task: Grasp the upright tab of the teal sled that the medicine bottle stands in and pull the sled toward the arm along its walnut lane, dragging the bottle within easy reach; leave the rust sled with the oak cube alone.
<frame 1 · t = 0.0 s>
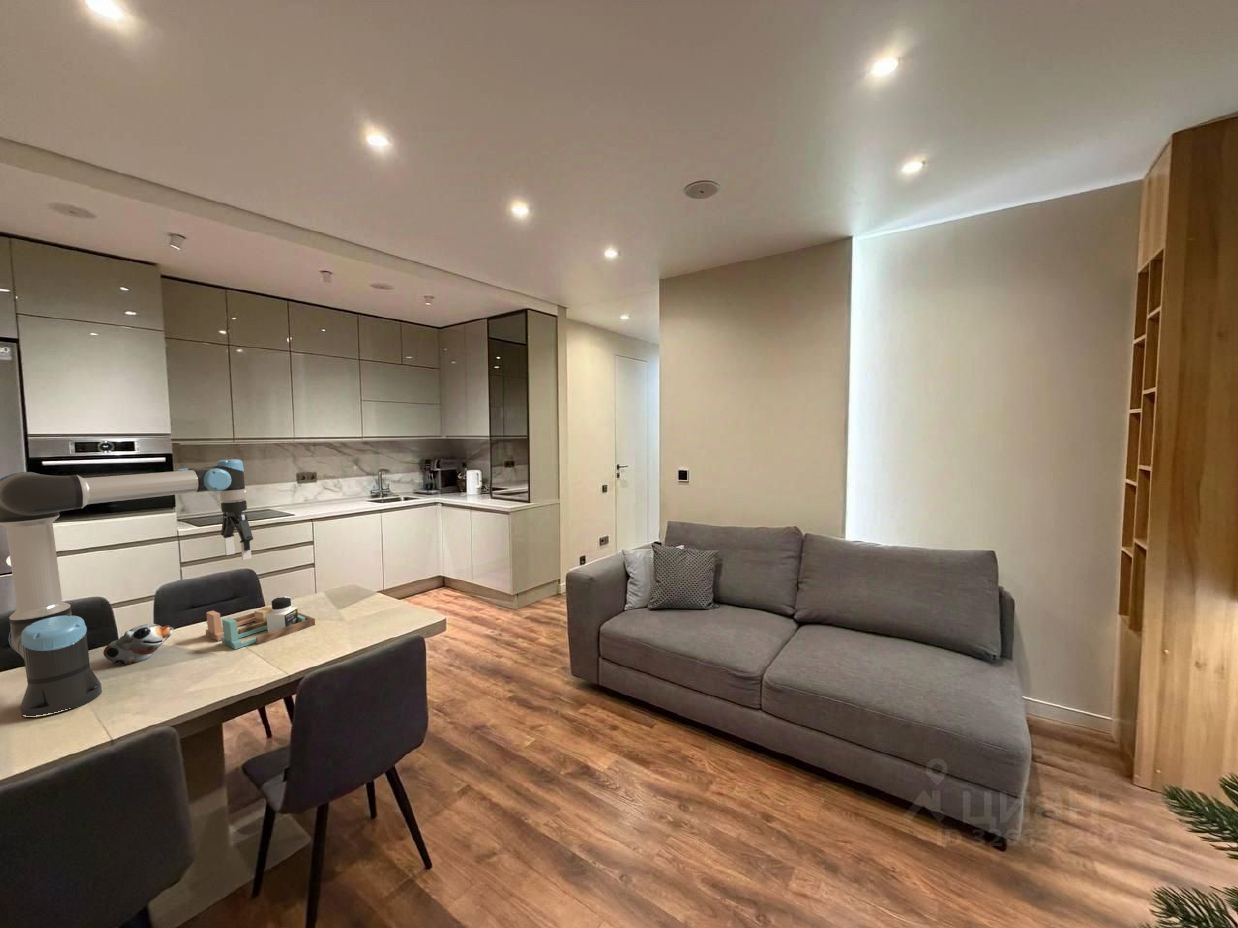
hand: (238, 556, 184), 28 cm above the table, fingers open, 13 cm apart
oak cube: (266, 621, 193), resting in sled b
lucky cat figurine: (141, 657, 165), on the table
medicine bottle: (283, 629, 186), resting in sled a
sled a: (264, 621, 181), point 5 cm above the table, slide at 0.0 cm, touching medicine bottle
sled b: (247, 614, 188), point 5 cm above the table, slide at 0.0 cm
lane rails: (276, 630, 184), on the table
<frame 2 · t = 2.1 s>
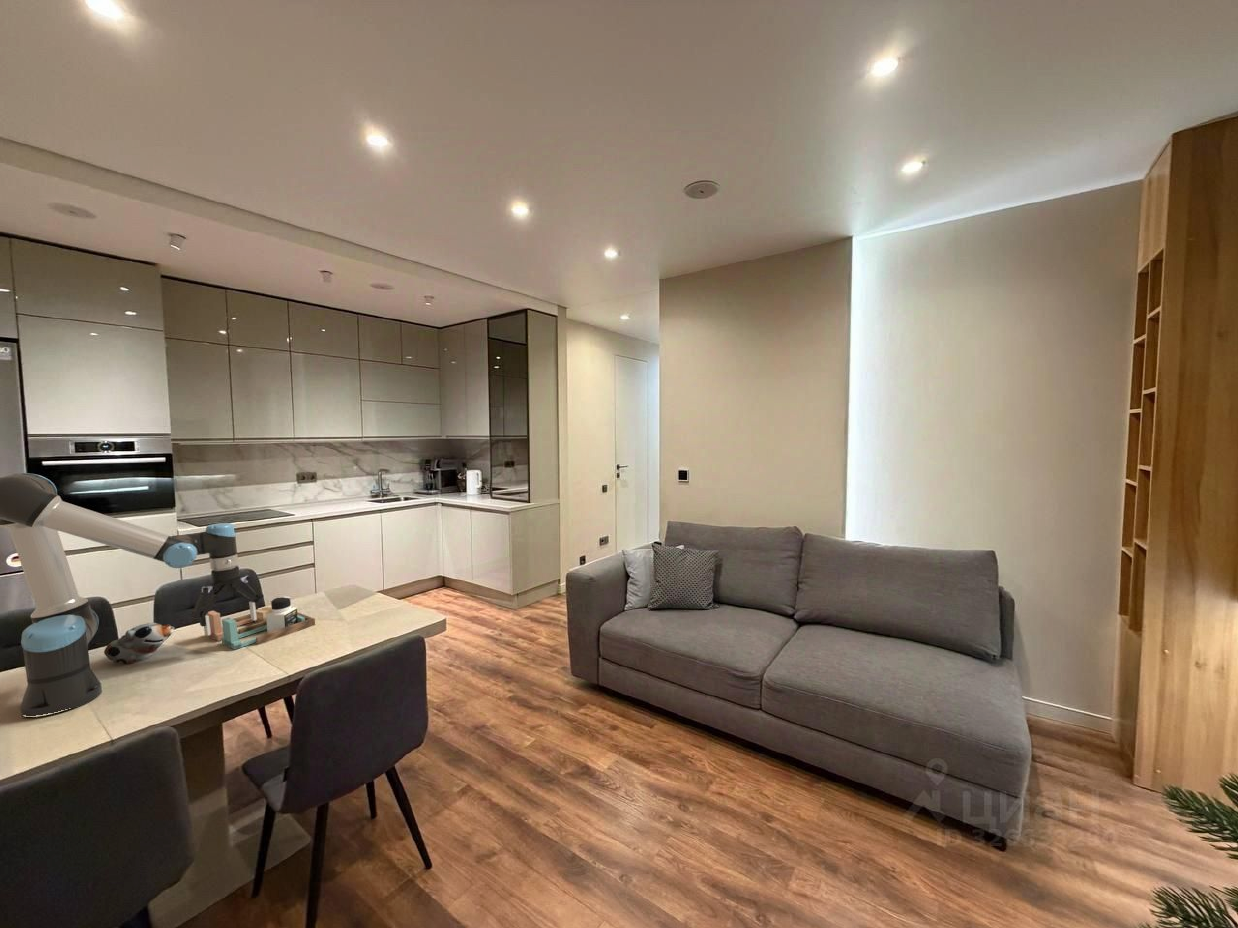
hand: (231, 626, 172), 7 cm above the table, fingers open, 13 cm apart
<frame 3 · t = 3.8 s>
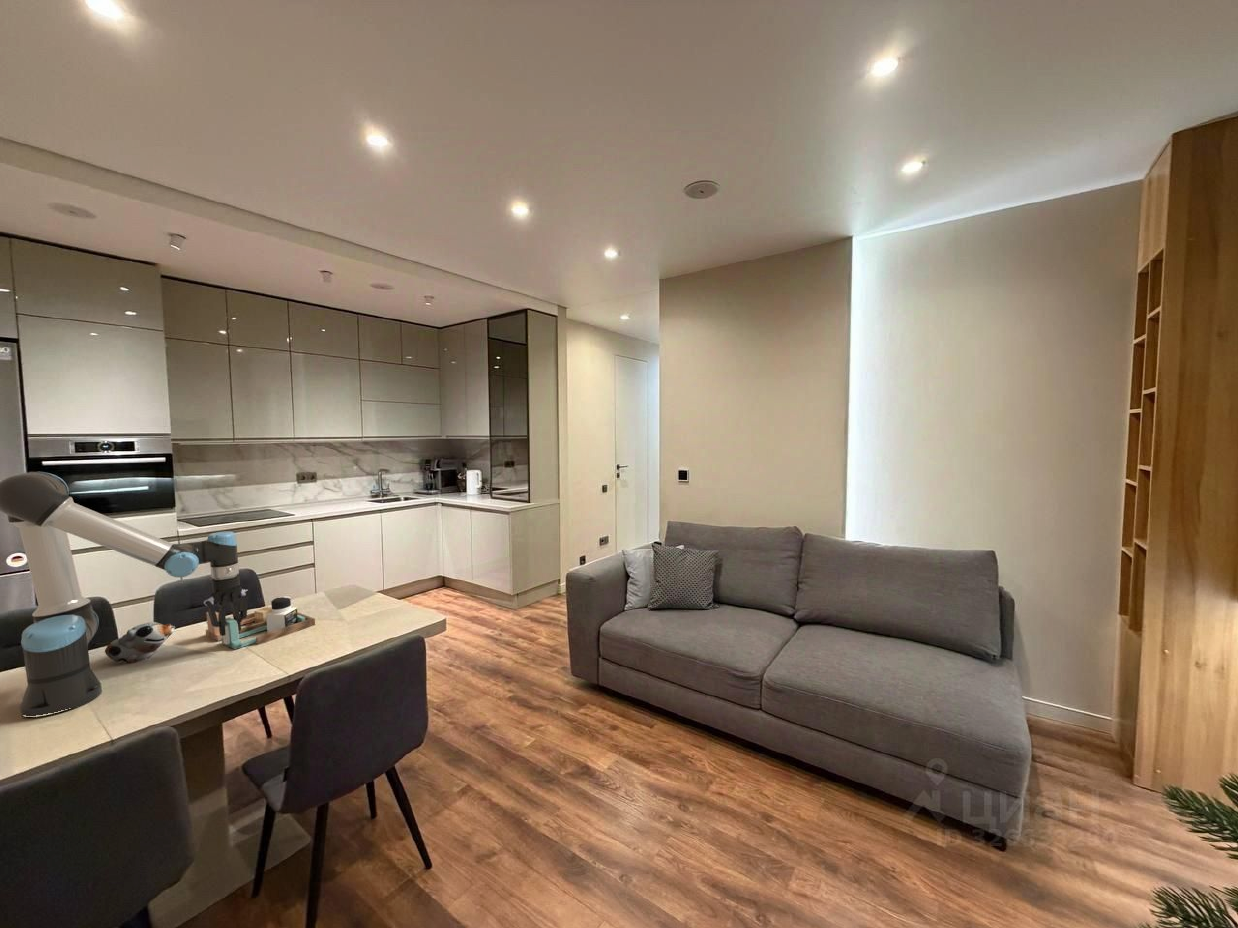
hand: (231, 641, 172), 1 cm above the table, fingers closed on sled a, 2 cm apart
sled a: (264, 621, 181), point 5 cm above the table, slide at 0.0 cm, touching gripper, medicine bottle
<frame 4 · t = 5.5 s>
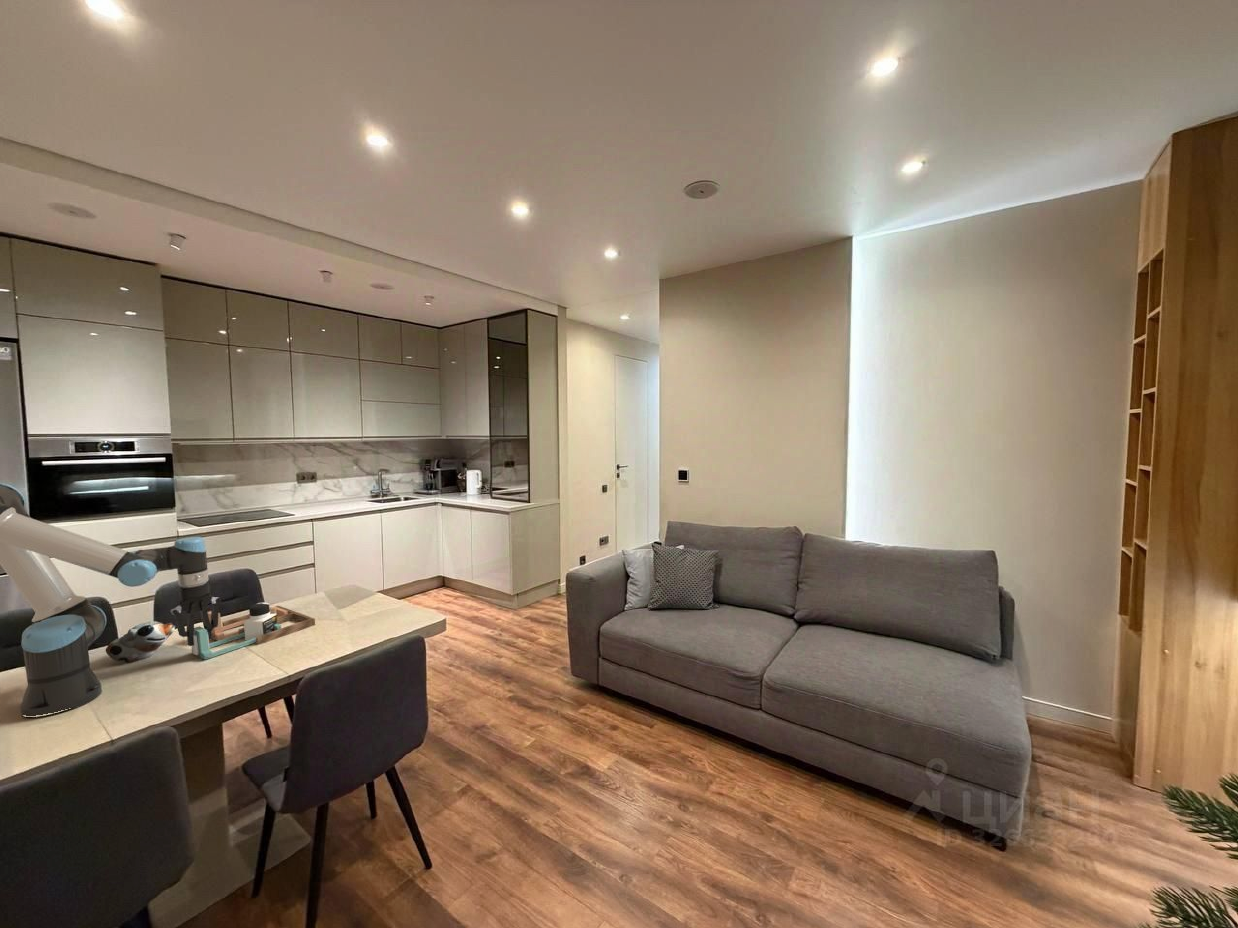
hand: (201, 651, 165), 1 cm above the table, fingers closed on sled a, 2 cm apart
medicine bottle: (261, 636, 180), resting in sled a
sled a: (237, 630, 173), point 5 cm above the table, slide at 8.5 cm, touching gripper, medicine bottle
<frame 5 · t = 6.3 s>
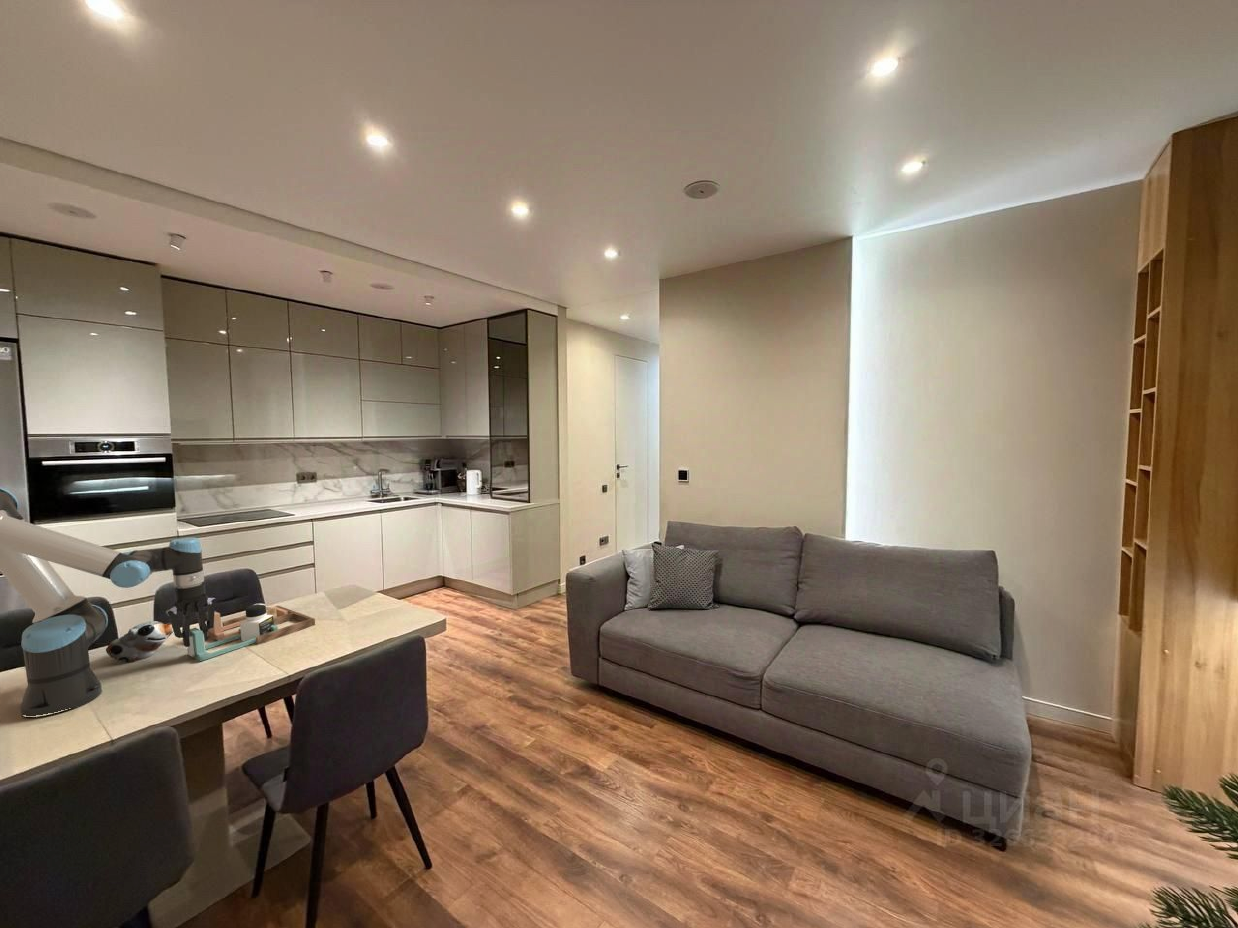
hand: (197, 652, 164), 2 cm above the table, fingers open, 2 cm apart
medicine bottle: (258, 637, 179), resting in sled a
sled a: (233, 631, 172), point 5 cm above the table, slide at 9.6 cm, touching gripper, medicine bottle
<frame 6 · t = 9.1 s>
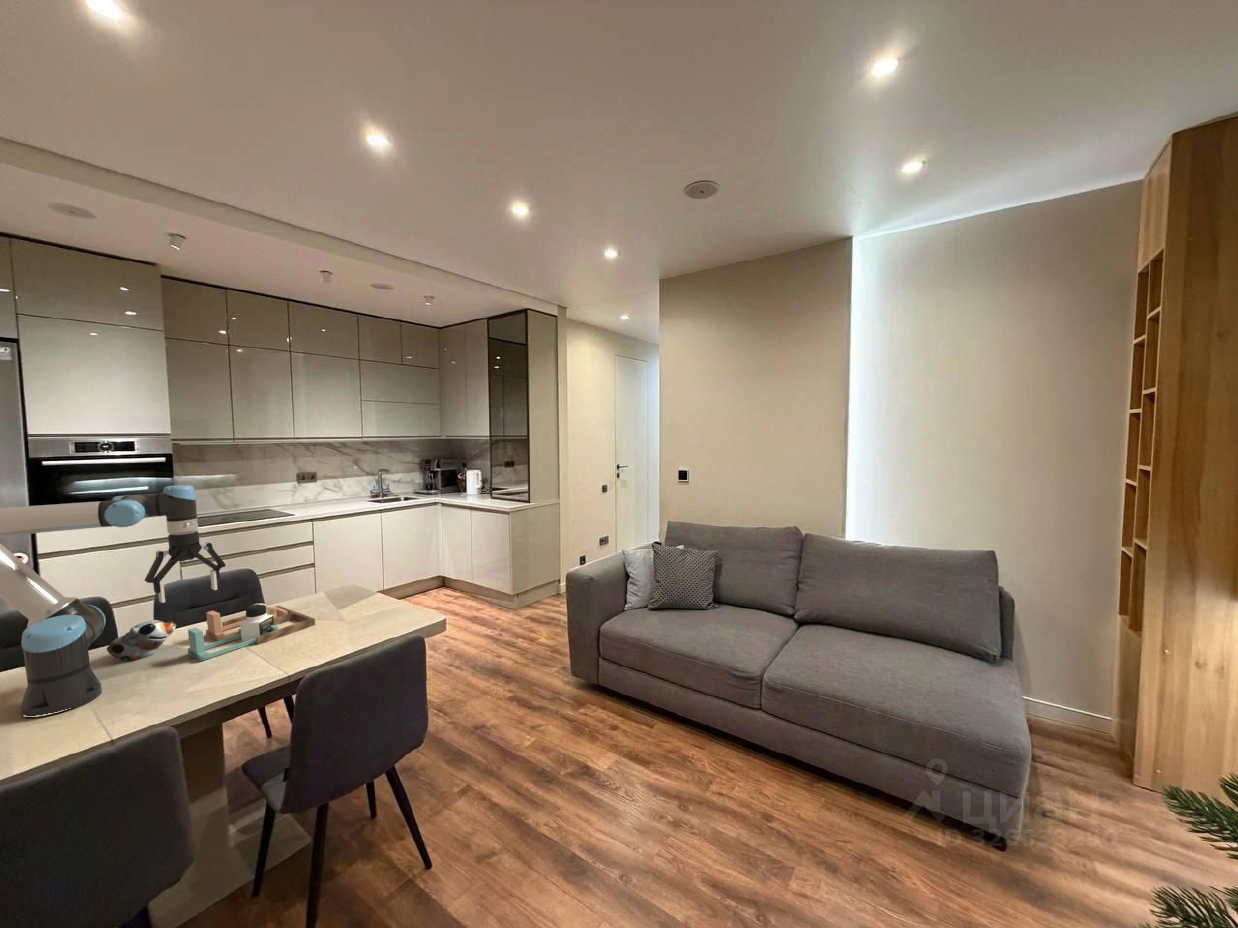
hand: (189, 595, 162), 21 cm above the table, fingers open, 13 cm apart
sled a: (233, 631, 173), point 5 cm above the table, slide at 9.6 cm, touching medicine bottle
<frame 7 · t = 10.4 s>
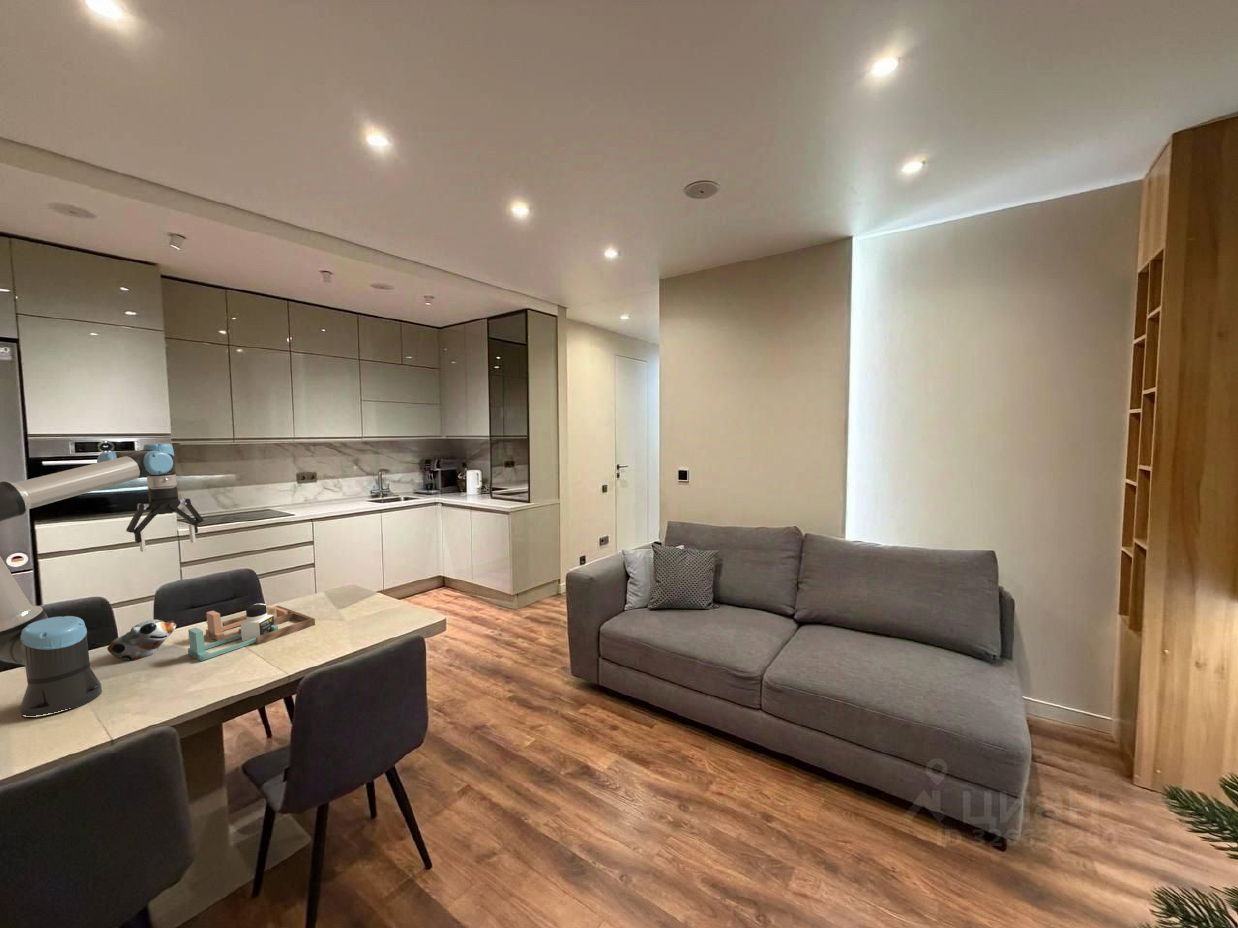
hand: (168, 546, 174), 35 cm above the table, fingers open, 13 cm apart
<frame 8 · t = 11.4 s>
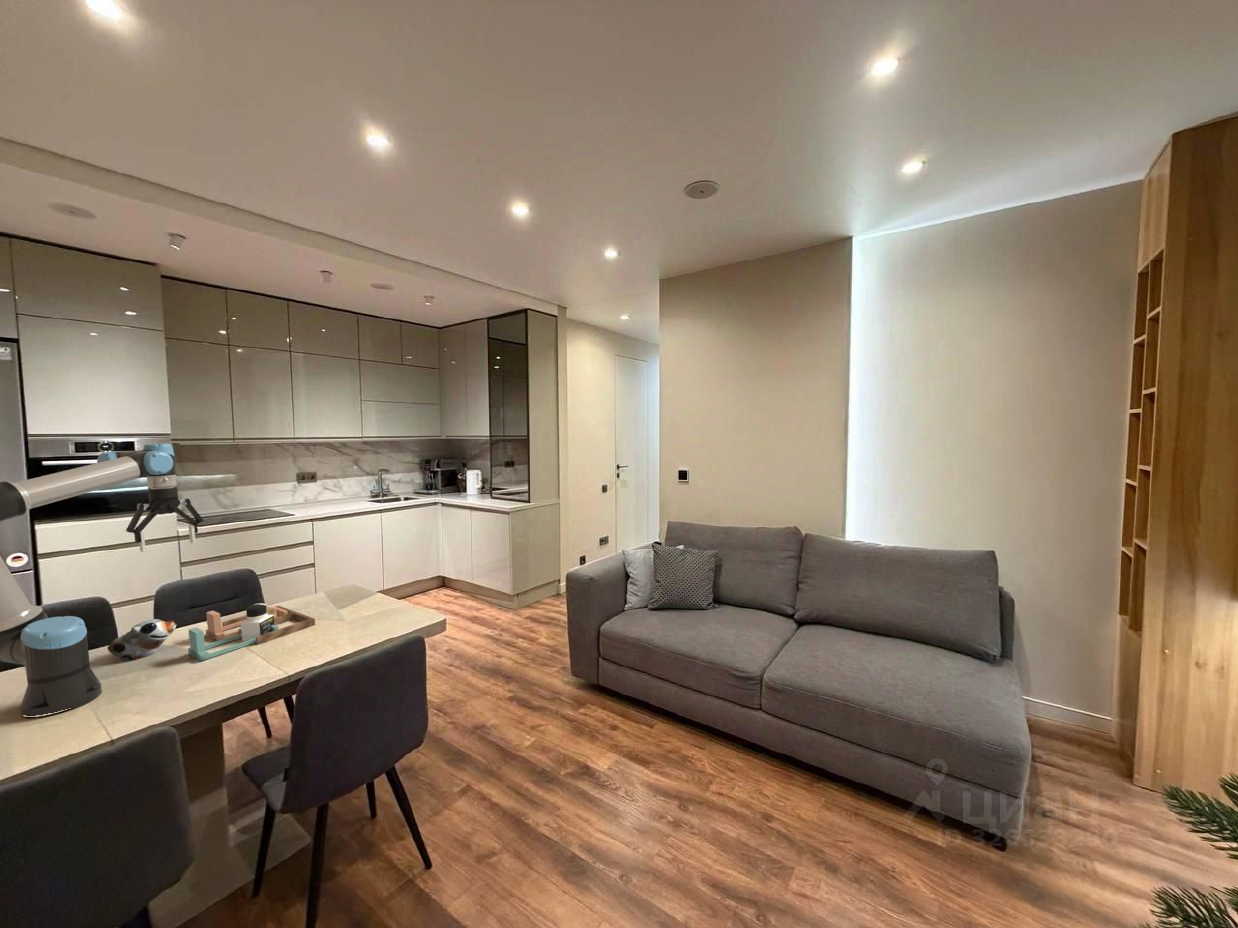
hand: (168, 546, 174), 35 cm above the table, fingers open, 13 cm apart
at the end: medicine bottle inside the target area (2.3 cm from its centre), resting in sled a; medicine bottle tilted 0°; sled a slide at 9.4 cm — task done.
